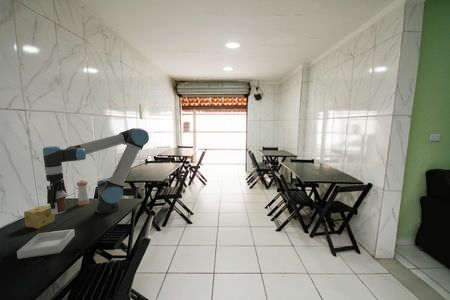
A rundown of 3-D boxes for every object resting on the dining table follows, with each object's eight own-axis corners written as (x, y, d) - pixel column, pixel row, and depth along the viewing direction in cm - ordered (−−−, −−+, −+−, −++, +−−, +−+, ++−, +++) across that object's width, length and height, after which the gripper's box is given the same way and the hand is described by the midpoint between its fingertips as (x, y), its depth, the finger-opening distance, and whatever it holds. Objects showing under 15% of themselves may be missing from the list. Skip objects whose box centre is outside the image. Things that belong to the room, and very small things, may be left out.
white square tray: (74, 235, 114) (74, 229, 113) (59, 252, 98) (59, 246, 98) (39, 239, 109) (38, 233, 109) (17, 258, 93) (16, 251, 93)
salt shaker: (84, 201, 164) (82, 178, 162) (91, 202, 162) (89, 179, 160) (75, 204, 157) (73, 180, 155) (82, 205, 155) (80, 181, 153)
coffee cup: (55, 216, 113) (52, 196, 112) (45, 213, 116) (42, 194, 115) (72, 209, 122) (70, 190, 120) (62, 207, 125) (60, 189, 123)
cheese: (38, 229, 120) (36, 213, 119) (24, 227, 122) (22, 211, 121) (55, 221, 130) (54, 206, 129) (42, 219, 133) (41, 205, 131)
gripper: (56, 169, 125) (61, 203, 128) (34, 178, 104) (40, 219, 108) (70, 168, 127) (74, 202, 130) (51, 177, 107) (57, 217, 110)
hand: (59, 210), depth 119 cm, fingers closed on coffee cup, 9 cm apart
